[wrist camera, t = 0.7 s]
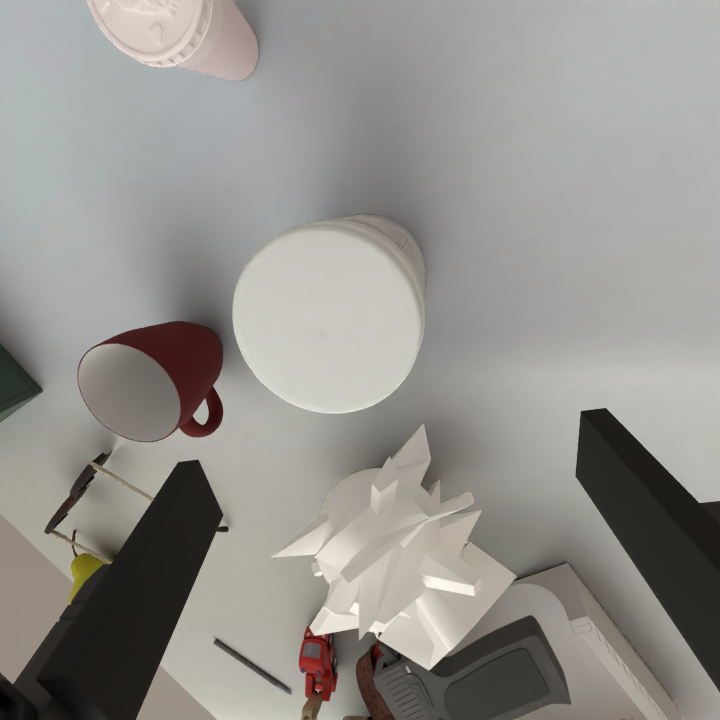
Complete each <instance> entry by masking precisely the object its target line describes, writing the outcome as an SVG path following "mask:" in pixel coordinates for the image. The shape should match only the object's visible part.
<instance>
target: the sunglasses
mask: <svg viewBox="0 0 720 720" xmlns="http://www.w3.org/2000/svg"><path fill="white" fill-rule="evenodd" d="M112 452H113V449H111V450H110V451H108V452H107V453H106V454H104V453H102V454H100V455H99V456H98V457H97V458H96V459H95V460H93V461H91V462H90V463H88V465H87V467H86V468H85V469H84V471H83V472H82V473H81V475H80V476H79V477H78V479H77V480H76V482H75V483H74V485H73V487H72V489H71V491H70V494H71V495H70V496H69V497H68V499H67V500H66V501H65V502H64V503H63V504H62V506H61V507H60V508H59V509H58V511H57V512H56V513H55V515H54V516H53V517H52V519H51V520H50V522H49V523H48V525H47V527H46V529H45V531H44V532H45V533H47V534H49V533H50V534H52V535H54V536H56V537H58V538H59V539H61V540H64V541H66V542H68V543H70V544H72V545H74V546H76V547H78V548H80V549H82V550H84V551H85V552H87V553H89V554H91V555H93V556H94V557H96V558H98V559H100V560H102V561H103V562H105V563H107V564H111V563H112V562H111V561H109V560H107V559H106V558H104V557H102V556H100V555H98V554H96V553H95V552H93V551H91V550H89V549H87V548H85V547H83V546H81V545H80V544H78V543H76V542H74V541H72V540H70V539H69V538H67V536H65V535H63V534H61V533H59V532H57V531H55V530H54V529H55V527H56V526H57V525H58V524H59V523H60V522H61V521H62V520H63V519H64V518H65V517H66V516H67V515H68V513H67V512H68V511H69V510H70V509H71V508H72V507H73V506H74V505H75V504H76V503H77V502H78V500H79V499H80V498H81V497H82V496H83V494H84V493H85V492H86V490H87V489H88V488H89V486H90V482H91V481H92V480H93V479H94V474H95V473H96V472H97V471H99V472H101V473H103V474H105V475H106V476H108V477H109V476H110V477H111V478H113V479H115V480H117V481H118V482H120V483H122V484H124V485H125V486H127V487H129V488H130V489H132V490H134V491H135V492H137V493H139V494H140V495H142V496H144V497H145V498H147V499H149V500H150V501H153V500H154V498H152V497H151V496H149V495H147V494H146V493H144V492H142V491H141V490H139V489H137V488H136V487H134V486H132V485H131V484H129V483H127V482H125V481H124V480H122V479H120V478H119V477H117V476H115V475H114V474H112V472H110V471H108V470H106V469H105V468H103V467H102V466H103V465H104V463H105V462H106V461H107V460H108V458H109V457H110V455H111V454H112ZM228 530H229V529H228V526H222V527H218V529H217V532H228Z"/></svg>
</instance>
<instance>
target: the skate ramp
mask: <svg viewBox="0 0 720 720" xmlns="http://www.w3.org/2000/svg"><path fill="white" fill-rule="evenodd" d="M528 615H532V616H533V617H535V618H536V620H537V621H538V623H539V624H540V626H541V628H542V630H543V632H544V634H545V636H546V638H547V640H548V642H549V644H550V646H551V647H552V649H553V651H554V653H555V655H556V657H557V659H558V661H559V663H560V665H561V667H562V669H563V672H564V675H565V678H566V682H567V686H568V691H569V695H570V699H571V705H567V704H551V705H547V706H545V707H543V708H540V709H538V710H536V711H533V712H531V713H528V714H526V715H524V716H521V717H519V718H517V719H514V720H620V719H628V718H630V719H637V720H682V718H681V716H680V713H679V711H678V709H677V707H676V705H675V703H674V702H673V701H672V699H671V698H670V697H669V696H668V694H667V693H666V692H665V690H664V689H663V688H662V686H661V685H660V684H659V682H658V681H657V680H656V678H655V677H654V676H653V675H652V673H651V672H650V671H649V669H648V668H647V667H646V665H645V664H644V663H643V661H642V660H641V659H640V657H639V656H638V655H637V653H636V652H635V651H634V650H633V648H632V647H631V646H630V644H629V643H628V642H627V640H626V639H625V638H624V636H623V635H622V634H621V632H620V631H619V630H618V629H617V627H616V626H615V625H614V623H613V622H612V621H611V619H610V618H609V617H608V615H607V614H606V613H605V611H604V610H603V609H602V608H601V606H600V605H599V604H598V602H597V601H596V600H595V598H594V597H593V596H592V594H591V593H590V592H589V590H588V589H587V588H586V586H585V585H584V584H583V583H582V581H581V580H580V579H579V577H578V576H577V575H576V573H575V572H574V571H573V569H572V568H571V567H570V565H569V564H568V563H566V564H563V565H560V566H557V567H554V568H551V569H549V570H546V571H543V572H540V573H537V574H534V575H531V576H528V577H525V578H522V579H520V580H517V581H514V582H512V583H511V584H510V585H509V586H508V588H507V589H506V590H505V591H504V592H503V593H502V594H501V596H500V597H499V598H498V599H497V600H496V601H495V602H494V604H493V605H492V606H491V607H490V608H489V609H488V610H487V612H486V613H485V614H484V615H483V616H482V617H481V618H480V620H479V621H478V622H477V623H476V624H475V625H474V626H473V628H472V629H471V630H470V631H469V632H468V633H467V634H466V636H465V637H464V638H463V639H462V640H461V641H460V642H459V643H458V644H457V645H456V646H455V647H454V648H453V649H452V650H451V651H449V652H448V653H447V654H446V655H445V656H444V657H449V656H452V655H454V654H455V653H457V652H458V651H460V650H461V649H463V648H465V647H466V646H468V645H469V644H471V643H473V642H474V641H476V640H478V639H479V638H481V637H483V636H485V635H487V634H489V633H491V632H492V631H494V630H496V629H499V628H501V627H503V626H505V625H507V624H510V623H512V622H514V621H516V620H519V619H521V618H524V617H526V616H528Z"/></svg>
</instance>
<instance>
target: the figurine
mask: <svg viewBox="0 0 720 720" xmlns="http://www.w3.org/2000/svg"><path fill="white" fill-rule="evenodd" d="M380 642H382V641H380V640H379V642H378V643H377V644H374V645H372V646H371V647H370V649H369V651H367V652H366V653H365V654H364V655H363V656H362V657H361V658H360V659H359V660H358V662H357V666H356V676H357V682H358V686H359V689H360V692H361V695H362V698H363V700H364V702H365V705H366V707H367V709H368V711H369V713H370V715H371V717H372V718H373V720H396V719H395V718H394V716H393V714H392V712H391V711H390V709H389V707H388V706H387V704H386V702H385V700H384V699H383V697H382V695H381V694H380V693H379V692H378V691H377V689H376V688H375V683H374V681H373V676H374V672H375V668H376V664H377V660H378V659H379V658H380V657H381V653H382V652H381V651H380V650H379V649H378V647H379V643H380ZM389 647H390V646H389ZM390 648H391V647H390ZM391 649H392V650H393V651H394V650H395V649H393V648H391Z"/></svg>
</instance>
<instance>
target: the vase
mask: <svg viewBox="0 0 720 720" xmlns="http://www.w3.org/2000/svg"><path fill="white" fill-rule="evenodd" d="M309 720H316V719H309ZM343 720H368V719H366V718H365V717H363V716H345V717H344V719H343Z"/></svg>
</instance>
